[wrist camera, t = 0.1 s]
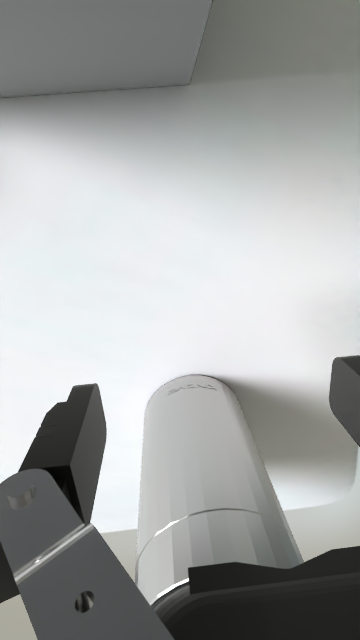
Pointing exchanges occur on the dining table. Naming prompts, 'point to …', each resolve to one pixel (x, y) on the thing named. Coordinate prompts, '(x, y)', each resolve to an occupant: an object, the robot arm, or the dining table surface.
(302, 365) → the dining table surface
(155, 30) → the stand
